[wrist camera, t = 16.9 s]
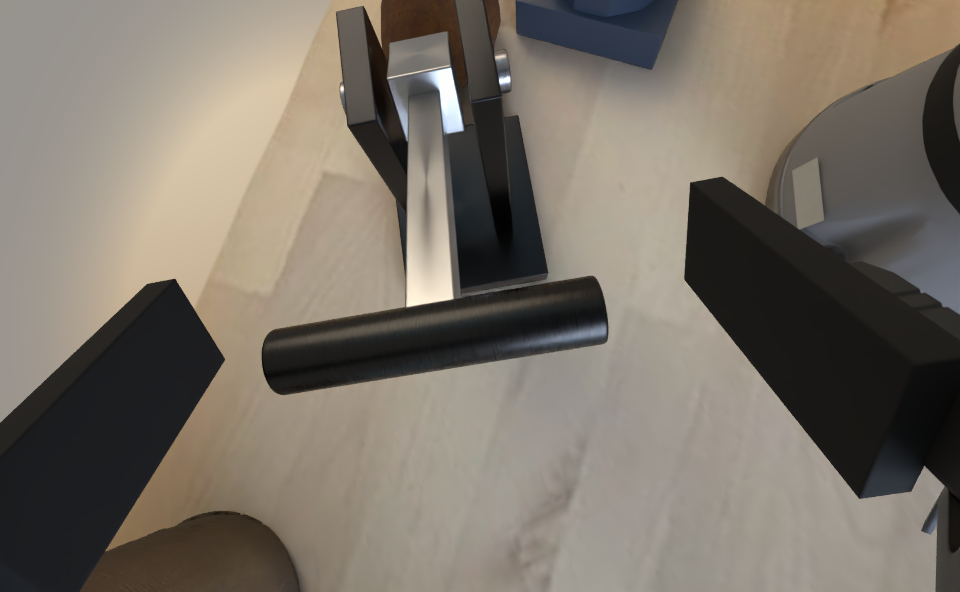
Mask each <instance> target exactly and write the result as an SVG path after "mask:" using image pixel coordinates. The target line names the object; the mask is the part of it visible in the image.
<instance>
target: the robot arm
mask: <svg viewBox="0 0 960 592" xmlns="http://www.w3.org/2000/svg"><path fill="white" fill-rule="evenodd" d="M684 280H685V281H686V282H687V283H688V285H689V286H690V287H691V288H692V290H693V291H694V292H695V293H696V295H697V296H698V297H699V298H700V300H701V301H702V302H703V303H704V305H705V306H706V307H707V308H708V310H709V311H710V312H711V313H712V315H713V316H714V317H715V318H716V320H717V321H718V322H719V323H720V325H721V326H722V327H723V328H724V330H725V331H726V332H727V333H728V335H729V336H730V337H731V338H732V340H733V341H734V342H735V344H736V345H737V346H738V347H739V349H740V350H741V351H742V352H743V354H744V355H745V356H746V357H747V359H748V360H749V361H750V362H751V364H752V365H753V366H754V367H755V369H756V370H757V371H758V372H759V374H760V375H761V376H762V377H763V379H764V380H765V381H766V382H767V384H768V385H769V386H770V387H771V389H772V390H773V391H774V392H775V394H776V395H777V396H778V397H779V399H780V400H781V401H782V402H783V404H784V405H785V406H786V407H787V409H788V410H789V411H790V412H791V414H792V415H793V416H794V417H795V419H796V420H797V421H798V422H799V424H800V425H801V426H802V427H803V429H804V430H805V431H806V432H807V434H808V435H809V436H810V438H811V439H812V440H813V441H814V443H815V444H816V445H817V446H818V448H819V449H820V450H821V451H822V453H823V454H824V455H825V456H826V458H827V459H828V460H829V461H830V463H831V464H832V465H833V466H834V468H835V469H836V470H837V471H838V473H839V474H840V475H841V476H842V478H843V479H844V480H845V481H846V483H847V484H848V485H849V486H850V488H851V489H852V490H853V491H854V493H855V494H856V495H857V496H858V498H859V499H862V498H869V497H876V496H883V495H890V494H897V493H904V492H911V491H912V489H913V487H914V485H915V483H916V481H917V479H918V477H919V475H920V473H921V471H922V469H923V467H924V465H925V466H926V467H927V468H928V469H929V471H930V472H931V473H932V474H933V475H934V476H935V477H936V478H937V479H938V480H939V481H940V482H941V483H942V484H943V485H944V486H945V487H944V489H943V491H942V492H941V494H940V496H939V498H938V499H937V501H936V503H935V505H934V506H933V508H932V510H931V512H930V513H929V515H928V517H927V519H926V520H925V523H924V525H923V527H922V530H921V531H923V532H925V533H928V534H930V535H931V533H932V532H933V530H934V528H935V527H936V525H937V556H936V592H960V44H958V45H957V46H956V47H955V48H953V49H950V50H948V51H946V52H944V53H942V54H940V55H937V56H935V57H933V58H931V59H929V60H927V61H925V62H923V63H920V64H918V65H916V66H914V67H912V68H910V69H908V70H905V71H903V72H901V73H899V74H897V75H895V76H893V77H890V78H886V79H883V80H880V81H877V82H875V83H872V84H870V85H867V86H865V87H863V88H860V89H858V90H856V91H854V92H852V93H850V94H848V95H846V96H844V97H842V98H840V99H839V100H837V101H835V102H834V103H832V104H831V105H829V106H828V107H827V108H826V109H824V110H823V111H822V112H820V113H819V114H818V115H817V116H816V117H815V118H814V119H813V120H812V121H811V122H810V123H809V124H808V125H807V126H806V127H805V128H804V129H803V130H802V131H801V132H800V133H799V134H798V135H796V136H795V137H794V139H793V140H792V141H791V142H790V143H789V145H788V146H787V147H786V148H785V150H784V152H783V153H782V155H781V156H780V158H779V160H778V162H777V164H776V166H775V168H774V170H773V173H772V176H771V179H770V182H769V187H768V191H767V198H766V206H764V205H763V204H762V203H760V202H759V201H757V200H756V199H754V198H753V197H751V196H750V195H749V194H747V193H746V192H744V191H743V190H741V189H740V188H738V187H737V186H735V185H734V184H733V183H731V182H730V181H728V180H727V179H725V178H724V177H718V178H713V179H707V180H702V181H696V182H691V183H690V195H689V212H688V228H687V244H686V260H685V276H684ZM224 361H225V358H224V357H223V355H222V353H221V352H220V350H219V349H218V347H217V345H216V344H215V342H214V341H213V339H212V337H211V336H210V334H209V332H208V331H207V329H206V328H205V326H204V324H203V323H202V321H201V320H200V318H199V316H198V315H197V313H196V312H195V310H194V308H193V307H192V305H191V304H190V302H189V300H188V299H187V297H186V295H185V294H184V292H183V291H182V289H181V287H180V286H179V284H178V283H177V281H176V279H171V280H167V281H161V282H155V283H150V284H147V285H146V286H145V287H143V288H142V290H140V291H139V292H138V293H137V294H136V295H135V296H134V297H133V298H132V299H131V300H130V301H129V302H128V303H127V304H125V305H124V307H122V308H121V309H120V310H119V311H118V312H117V313H116V314H115V315H114V316H113V317H112V318H111V319H110V320H109V321H108V322H106V323H105V324H104V325H103V326H102V327H101V328H100V329H99V330H98V331H97V332H96V333H95V334H94V335H93V336H92V337H91V338H90V339H89V340H87V341H86V342H85V343H84V344H83V345H82V346H81V347H80V348H79V349H78V350H77V351H76V352H75V353H74V354H73V355H72V356H70V357H69V358H68V359H67V360H66V361H65V362H64V363H63V364H62V365H61V366H60V367H59V368H58V369H57V370H56V371H55V372H54V373H52V374H51V375H50V376H49V377H48V378H47V379H46V380H45V381H44V382H43V383H42V384H41V385H40V386H39V387H38V388H37V389H36V390H34V391H33V392H32V393H31V394H30V395H29V396H28V397H27V398H26V399H25V400H24V401H23V402H22V403H21V404H20V405H19V406H18V407H17V408H15V409H14V410H13V411H12V412H11V413H10V414H9V415H8V416H7V417H6V418H5V419H4V420H3V421H2V422H1V423H0V592H80V590H81V588H82V587H83V585H84V584H85V582H86V581H87V579H88V577H89V576H90V574H91V573H92V571H93V569H94V568H95V566H96V565H97V563H98V561H99V560H100V558H101V557H102V555H103V553H104V552H105V550H106V549H107V547H108V545H109V544H110V542H111V541H112V539H113V538H114V536H115V534H116V533H117V531H118V530H119V528H120V526H121V525H122V523H123V522H124V520H125V518H126V517H127V515H128V514H129V512H130V510H131V509H132V507H133V506H134V504H135V502H136V501H137V499H138V498H139V496H140V494H141V493H142V491H143V490H144V488H145V487H146V485H147V483H148V482H149V480H150V479H151V477H152V475H153V474H154V472H155V471H156V469H157V467H158V466H159V464H160V463H161V461H162V459H163V458H164V456H165V455H166V453H167V451H168V450H169V448H170V447H171V445H172V444H173V442H174V440H175V439H176V437H177V436H178V434H179V432H180V431H181V429H182V428H183V426H184V424H185V423H186V421H187V420H188V418H189V416H190V415H191V413H192V412H193V410H194V408H195V407H196V405H197V404H198V402H199V400H200V399H201V397H202V396H203V394H204V393H205V391H206V389H207V388H208V386H209V385H210V383H211V381H212V380H213V378H214V377H215V375H216V373H217V372H218V370H219V369H220V367H221V365H222V364H223V362H224Z"/></svg>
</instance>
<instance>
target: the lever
mask: <svg viewBox="0 0 960 592" xmlns="http://www.w3.org/2000/svg"><path fill="white" fill-rule="evenodd" d="M386 81H387V84H388V87H389V90H390V93H391V96H392V100H393V103H394V106H395V109H396V112H397V116H398V119H399V122H400V125H401V128H402V132H403V135H404V138H405V141H406V142H408V152H407V218H406V284H405V307H403V308H397V309H391V310H386V311H380V312H374V313H368V314H362V315H356V316H350V317H344V318H338V319H332V320H327V321H321V322H315V323H309V324H303V325H297V326H291V327H285V328H279V329H274V330H272V331H271V332H270V333H268V335H267V336H266V338H265V340H264V343H263V347H262V367H263V372H264V375H265V378H266V381H267V383H268V385H269V386H270V388H271V389H272V390H273V391H274V392H275V393H277V394H280V395H288V394H294V393H301V392H307V391H313V390H319V389H326V388H332V387H338V386H344V385H351V384H357V383H363V382H369V381H376V380H382V379H388V378H394V377H401V376H407V375H413V374H419V373H425V372H432V371H438V370H444V369H450V368H457V367H463V366H469V365H475V364H482V363H488V362H494V361H500V360H507V359H513V358H519V357H525V356H532V355H538V354H544V353H550V352H556V351H563V350H569V349H575V348H581V347H588V346H594V345H600V344H604V343H606V342H607V339H608V317H607V310H606V305H605V300H604V296H603V293H602V290H601V287H600V284H599V282H598V280H597V279H596V277H594V276H586V277H580V278H574V279H568V280H563V281H557V282H551V283H545V284H539V285H533V286H527V287H521V288H515V289H509V290H504V291H498V292H492V293H486V294H480V295H474V296H468V297H462V298H461V291H460V279H459V267H458V255H457V243H456V231H455V219H454V207H453V195H452V182H451V170H450V158H449V146H448V134H452V133H457V132H462V131H464V130H465V127H464V119H463V111H462V103H461V95H460V89H459V84H458V79H457V74H456V69H455V64H454V59H453V53H452V48H451V43H450V38H449V33H448V32H441V33H436V34H431V35H427V36H422V37H417V38H412V39H407V40H402V41H397V42H392V43H390V44H389V53H388V65H387V78H386Z"/></svg>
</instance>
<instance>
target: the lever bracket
mask: <svg viewBox="0 0 960 592" xmlns="http://www.w3.org/2000/svg"><path fill="white" fill-rule="evenodd" d="M454 4H455V10H456V16H457V22H458V28H459V35H460V41H461V47H462V53H463V59H464V65H465V71H466V77H467V83H468V89H469V95H470V101H471V106H472V111H473V117H474V122H475V123H474V124H469V125H464V127H465V130H464V131H462V132H457V133H452V134H448V146H449V158H450V170H451V182H452V195H453V207H454V219H455V231H456V243H457V255H458V267H459V279H460V291H461V294H463V293H468V292H474V291H480V290H486V289H492V288H498V287H504V286H510V285H515V284H521V283H527V282H533V281H539V280H545V279H547V276H548V270H547V264H546V259H545V254H544V249H543V243H542V238H541V233H540V227H539V222H538V217H537V212H536V206H535V201H534V196H533V190H532V185H531V180H530V175H529V169H528V164H527V159H526V153H525V148H524V143H523V138H522V132H521V127H520V122H519V117H518V115H516V116H510V117H505V118H504V113H503V101H502V94H503V93H508V92H511V91H512V82H511V73H510V66H509V60H508V55H507V51H506V50H505V49H503V50H498V51H494V49H493V43H492V38H491V32H490V27H489V21H488V16H487V10H486V5H485V0H454ZM336 17H337V27H338V37H339V47H340V57H341V67H342V77H343V82H341V83H340V97H341V102H342V105H343V108H344V111H345V113H346V116H347V126H348V128H349V129H350V131H351V132H352V134H353V135H354V137H355V138H356V140H357V141H358V143H359V144H360V146H361V147H362V149H363V150H364V152H365V153H366V155H367V156H368V158H369V159H370V161H371V162H372V164H373V165H374V167H375V168H376V170H377V171H378V173H379V174H380V176H381V177H382V179H383V180H384V182H385V183H386V185H387V186H388V188H389V189H390V191H391V192H392V194H393V195H394V197H395V198H396V204H397V212H398V221H399V229H400V237H401V245H402V254H403V262H404V270H405V278H406V218H407V152H408V142H406V141H405V138H404V135H403V132H402V128H401V125H400V122H399V119H398V116H397V112H396V109H395V106H394V103H393V100H392V96H391V93H390V90H389V87H388V84H387V81H386V78H387V65H388V62H387V60H386V57H385V55H384V53H383V50H382V48H381V46H380V43H379V41H378V38H377V36H376V34H375V31H374V29H373V26H372V24H371V22H370V19H369V17H368V14H367V12H366V10H365V8H364V6H361V7H356V8H351V9H347V10H342V11H337V12H336Z"/></svg>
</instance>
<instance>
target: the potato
mask: <svg viewBox="0 0 960 592" xmlns="http://www.w3.org/2000/svg"><path fill="white" fill-rule="evenodd" d="M485 5H486V10H487V16H488V21H489V27H490V32H491V38H492V43H493V46H494V43H495V40H496V37H497V34H498V30H499V26H500V21H501V20H500V9H499V2H498V0H485ZM441 32H448V33H449V38H450V43H451V48H452V53H453V59H454V64H455V69H456V74H457V79H458V84H459V89H461V88H462V87H463V86H464V85H465V84H466V83H467V77H466V71H465V65H464V59H463V53H462V47H461V41H460V35H459V28H458V22H457V16H456V10H455V4H454V0H382V3H381V41H382V50H383V53H384V55H385V57H386V60H387V62H388V53H389V44H390V43H392V42H397V41H402V40H407V39H412V38H417V37H422V36H427V35H431V34H436V33H441Z"/></svg>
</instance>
